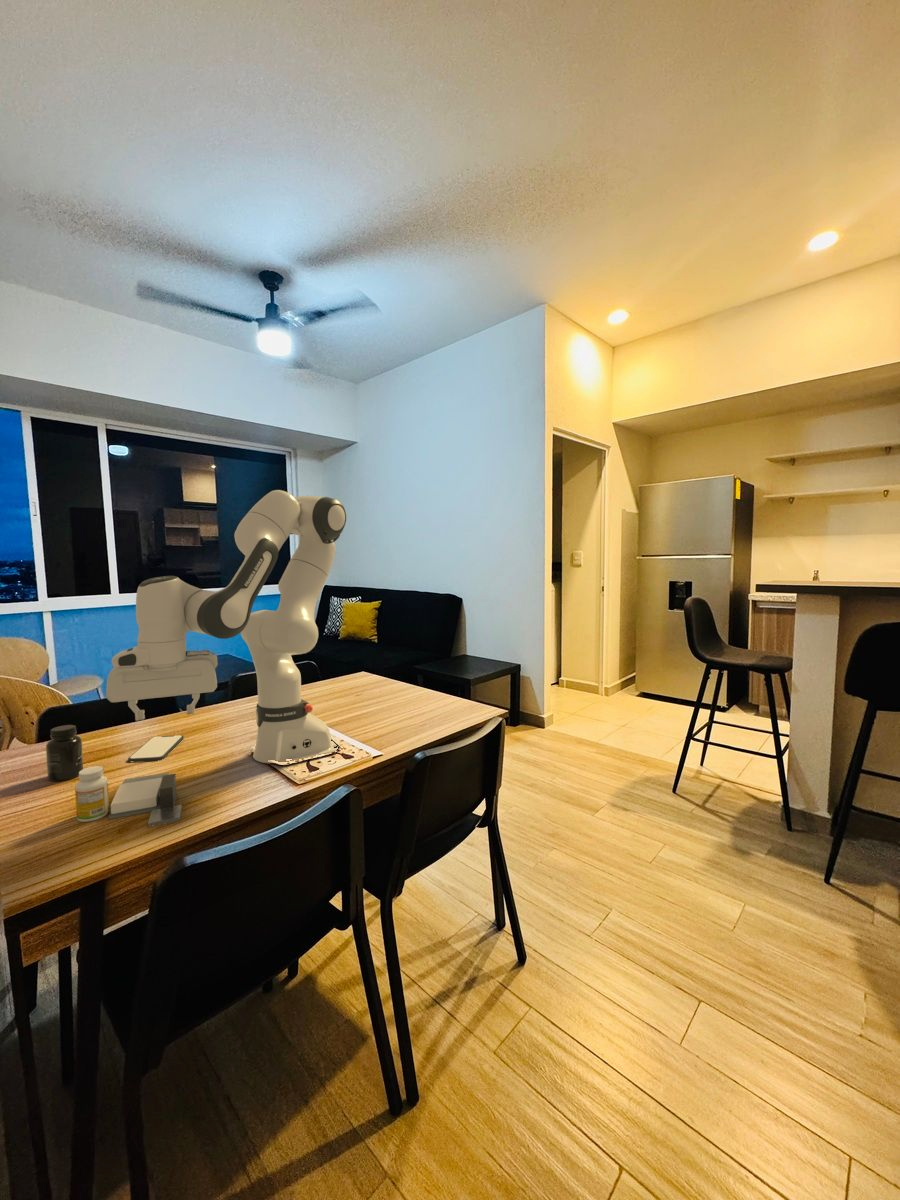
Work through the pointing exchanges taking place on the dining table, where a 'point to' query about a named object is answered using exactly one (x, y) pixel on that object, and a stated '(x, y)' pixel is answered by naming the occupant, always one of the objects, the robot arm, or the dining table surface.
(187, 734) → the dining table surface
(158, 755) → the phone case
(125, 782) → the mat
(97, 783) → the supplement bottle
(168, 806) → the grey post on base
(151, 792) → the tile
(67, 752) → the supplement bottle
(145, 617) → the robot arm
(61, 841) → the dining table surface
